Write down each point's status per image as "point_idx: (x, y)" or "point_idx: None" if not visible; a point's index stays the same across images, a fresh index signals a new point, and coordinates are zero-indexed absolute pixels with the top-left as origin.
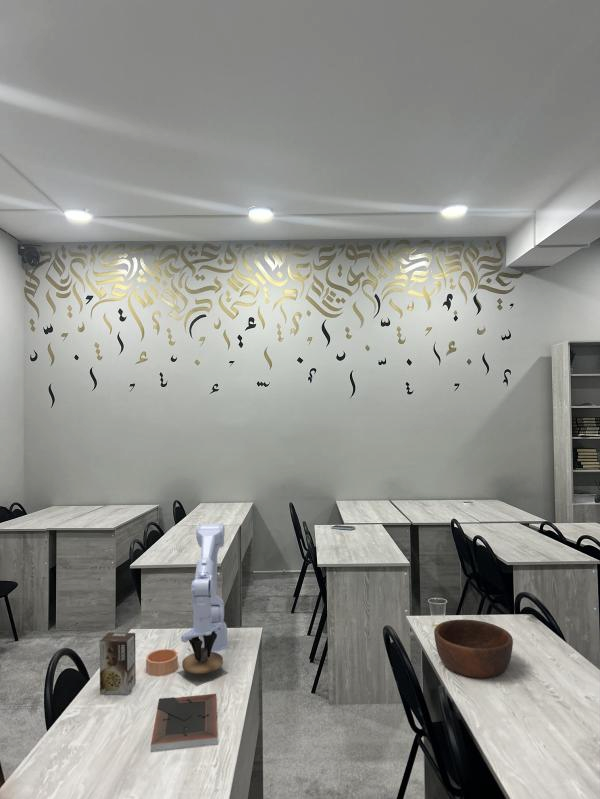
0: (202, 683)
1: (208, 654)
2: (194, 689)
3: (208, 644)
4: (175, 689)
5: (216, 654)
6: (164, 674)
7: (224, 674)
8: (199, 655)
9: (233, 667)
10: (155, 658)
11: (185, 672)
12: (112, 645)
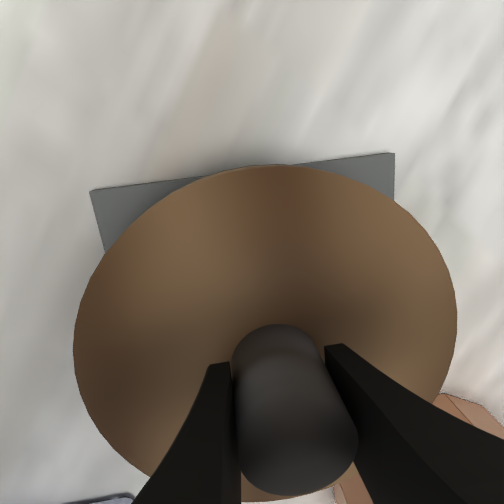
0: (341, 162)
1: (230, 377)
2: (411, 140)
3: (229, 494)
4: (496, 221)
5: (109, 403)
6: (459, 404)
7: (132, 186)
8: (369, 369)
9: (14, 270)
10: None
11: None
12: None
